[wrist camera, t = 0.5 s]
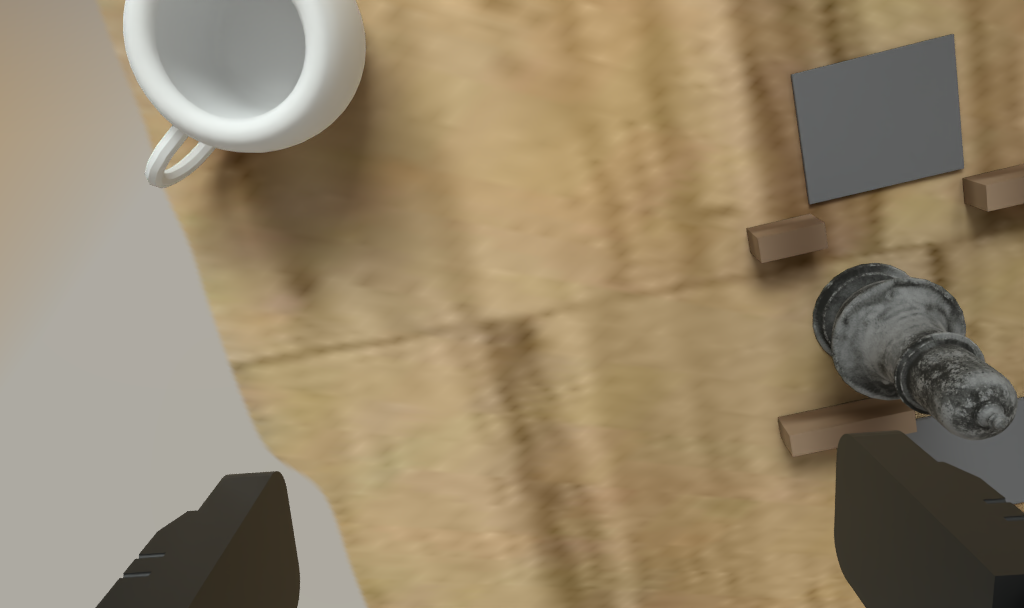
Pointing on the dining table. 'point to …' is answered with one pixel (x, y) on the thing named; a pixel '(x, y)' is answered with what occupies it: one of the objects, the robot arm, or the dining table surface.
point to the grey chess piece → (911, 349)
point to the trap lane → (810, 235)
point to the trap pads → (892, 160)
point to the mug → (242, 72)
